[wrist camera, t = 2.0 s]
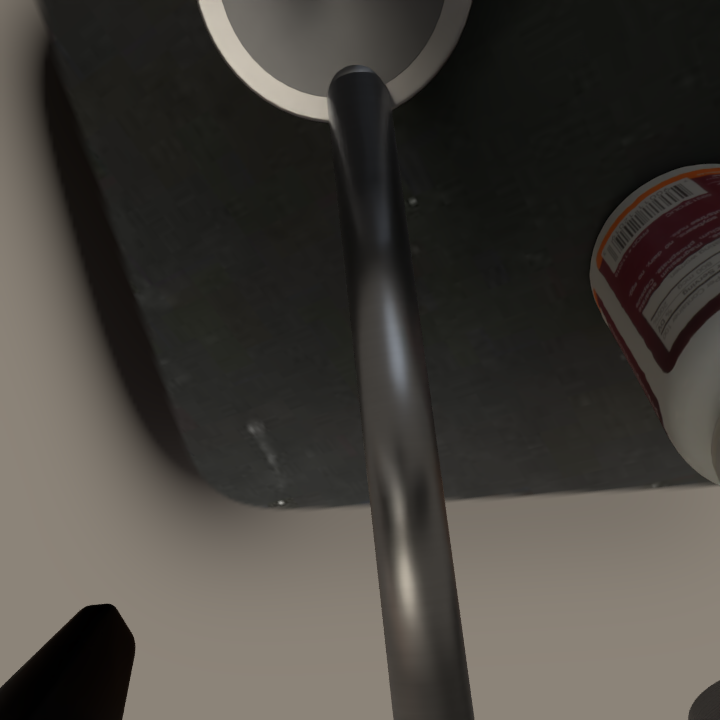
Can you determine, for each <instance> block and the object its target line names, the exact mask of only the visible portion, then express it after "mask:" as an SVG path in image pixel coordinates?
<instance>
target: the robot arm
mask: <svg viewBox="0 0 720 720" xmlns="http://www.w3.org/2000/svg"><path fill="white" fill-rule="evenodd" d="M134 656H135V641H134V637H133V635H132V633H131V632H130V630H129V628H128V627H127V625H126V623H125V622H124V620H123V618H122V617H121V615H120V613H119V612H118V610H117V609H116V607H115V606H113V605H111V604H99V605H90V606H86V607H84V608H83V609H82V610H80V611H79V612H78V613H77V614H76V615H75V616H74V617H73V618H72V619H71V620H70V621H69V622H68V623H67V624H66V625H65V626H64V627H62V629H61V630H60V631H58V632H57V633H56V634H55V635H54V636H53V637H52V638H51V639H50V640H49V641H48V642H47V643H46V644H45V645H44V646H43V647H42V648H41V649H40V650H39V651H38V652H37V653H36V654H35V655H34V656H33V657H32V658H31V659H30V660H28V661H27V662H26V663H25V664H24V665H23V666H22V667H21V668H20V669H19V670H18V671H17V672H16V673H15V674H14V675H13V676H12V677H11V678H10V679H9V680H8V681H7V682H6V683H5V684H4V685H3V686H2V687H1V688H0V720H122V717H123V713H124V707H125V702H126V697H127V692H128V687H129V681H130V676H131V671H132V666H133V661H134Z"/></svg>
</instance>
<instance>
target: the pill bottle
mask: <svg viewBox="0 0 720 720" xmlns="http://www.w3.org/2000/svg"><path fill="white" fill-rule="evenodd" d="M589 276H590V284H591V289H592V292H593V296H594V299H595V302H596V304H597V306H598V308H599V310H600V312H601V314H602V317H603V319H604V321H605V322H606V324H607V325H608V327H609V328H610V330H611V332H612V334H613V336H614V338H615V340H616V341H617V343H618V344H619V346H620V348H621V349H622V351H623V353H624V355H625V357H626V359H627V361H628V363H629V365H630V366H631V368H632V370H633V372H634V373H635V375H636V377H637V379H638V381H639V383H640V385H641V386H642V388H643V390H644V392H645V394H646V396H647V398H648V400H649V401H650V403H651V405H652V407H653V408H654V411H655V413H656V415H657V417H658V418H659V420H660V422H661V424H662V426H663V428H664V430H665V432H666V434H667V436H668V437H669V439H670V441H671V443H672V444H673V445H674V446H675V448H676V450H677V451H678V452H679V454H680V455H681V456H682V457H683V459H684V460H685V461H686V462H687V463H688V464H689V465H690V466H691V467H692V468H693V469H695V470H696V471H697V472H698V473H699V474H701V475H702V476H703V477H705V478H707V479H708V480H710V481H711V482H713V483H715V484H717V485H719V486H720V164H700V165H693V166H686V167H682V168H679V169H675V170H672V171H670V172H668V173H665V174H663V175H660V176H658V177H656V178H654V179H653V180H651V181H649V182H647V183H646V184H644V185H642V186H641V187H639V188H638V189H637V190H635V191H634V192H633V193H631V194H630V195H629V196H628V197H627V198H626V199H625V200H624V201H623V202H622V203H621V204H620V205H619V206H618V207H617V208H616V209H615V210H614V211H613V213H612V214H611V215H610V216H609V218H608V219H607V221H606V222H605V224H604V226H603V228H602V230H601V232H600V233H599V235H598V237H597V240H596V243H595V246H594V249H593V253H592V258H591V265H590V274H589Z"/></svg>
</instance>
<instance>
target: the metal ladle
mask: <svg viewBox="0 0 720 720" xmlns="http://www.w3.org/2000/svg"><path fill="white" fill-rule="evenodd" d="M196 2H197V6H198V9H199V12H200V15H201V18H202V20H203V23H204V26H205V28H206V30H207V32H208V35H209V37H210V39H211V41H212V43H213V45H214V46H215V48H216V50H217V51H218V53H219V54H220V56H221V57H222V59H223V60H224V62H225V63H226V65H227V66H228V67H229V68H230V70H231V71H232V72H233V73H234V74H235V76H236V77H237V78H238V79H239V80H240V81H241V82H242V83H243V84H244V85H245V86H246V87H247V88H248V89H249V90H251V91H252V92H253V93H254V94H256V95H257V96H258V97H260V98H261V99H262V100H264V101H265V102H267V103H269V104H270V105H272V106H274V107H275V108H277V109H279V110H281V111H283V112H286V113H288V114H290V115H293V116H295V117H298V118H302V119H306V120H309V121H314V122H321V123H329V127H330V136H331V145H332V154H333V163H334V173H335V182H336V191H337V200H338V210H339V219H340V228H341V237H342V247H343V256H344V265H345V274H346V284H347V293H348V302H349V311H350V321H351V330H352V339H353V348H354V358H355V367H356V376H357V385H358V394H359V404H360V413H361V422H362V431H363V441H364V450H365V459H366V468H367V478H368V487H369V496H370V505H371V515H372V524H373V532H374V542H375V550H376V551H375V552H376V561H377V570H378V579H379V589H380V598H381V607H382V616H383V625H384V635H385V644H386V653H387V662H388V672H389V680H390V690H391V699H392V709H393V717H394V720H474V713H473V706H472V699H471V691H470V684H469V677H468V670H467V662H466V655H465V647H464V640H463V633H462V626H461V618H460V610H459V603H458V596H457V589H456V581H455V573H454V566H453V559H452V552H451V544H450V537H449V529H448V522H447V515H446V507H445V500H444V492H443V485H442V478H441V470H440V463H439V456H438V448H437V441H436V433H435V426H434V419H433V411H432V404H431V397H430V389H429V382H428V374H427V367H426V360H425V352H424V345H423V338H422V330H421V323H420V315H419V308H418V301H417V293H416V286H415V279H414V271H413V264H412V257H411V249H410V242H409V234H408V227H407V220H406V212H405V205H404V198H403V190H402V183H401V175H400V168H399V161H398V153H397V146H396V139H395V131H394V124H393V116H392V110H395V109H396V108H398V107H400V106H401V105H403V104H404V103H406V102H408V101H409V100H411V99H412V98H413V97H414V96H416V95H417V94H418V93H419V92H421V91H422V90H423V89H424V88H425V87H426V86H427V85H428V84H429V83H430V82H431V81H432V80H433V79H434V78H435V77H436V76H437V75H438V73H439V72H440V71H441V69H442V68H443V67H444V65H445V64H446V63H447V61H448V60H449V58H450V56H451V55H452V53H453V51H454V49H455V48H456V46H457V44H458V42H459V40H460V38H461V35H462V33H463V31H464V29H465V26H466V24H467V21H468V17H469V14H470V11H471V7H472V4H473V0H196Z"/></svg>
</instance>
